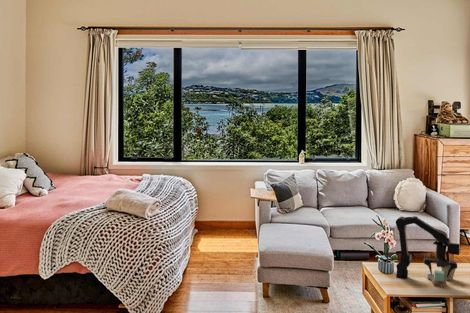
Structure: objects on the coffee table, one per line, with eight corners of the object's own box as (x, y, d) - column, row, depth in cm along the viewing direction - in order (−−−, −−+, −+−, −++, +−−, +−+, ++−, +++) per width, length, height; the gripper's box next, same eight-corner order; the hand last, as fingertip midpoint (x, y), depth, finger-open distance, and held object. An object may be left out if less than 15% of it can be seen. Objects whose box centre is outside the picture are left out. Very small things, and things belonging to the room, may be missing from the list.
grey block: (427, 279, 280) (427, 273, 280) (425, 277, 284) (425, 271, 284) (433, 280, 280) (434, 274, 279) (431, 277, 284) (431, 271, 283)
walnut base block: (433, 286, 270) (434, 281, 270) (431, 282, 277) (432, 276, 277) (445, 287, 268) (446, 282, 268) (443, 283, 275) (443, 278, 275)
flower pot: (456, 278, 283) (457, 265, 282) (454, 283, 275) (455, 269, 274) (440, 275, 288) (441, 262, 287) (438, 279, 280) (439, 266, 279)
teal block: (434, 280, 271) (435, 272, 270) (434, 277, 276) (434, 270, 275) (443, 281, 269) (444, 274, 269) (442, 278, 274) (443, 271, 273)
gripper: (425, 253, 266) (423, 278, 268) (459, 258, 259) (457, 283, 261) (424, 248, 276) (422, 271, 278) (457, 252, 270) (455, 276, 272)
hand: (439, 275), depth 272 cm, fingers open, 9 cm apart
